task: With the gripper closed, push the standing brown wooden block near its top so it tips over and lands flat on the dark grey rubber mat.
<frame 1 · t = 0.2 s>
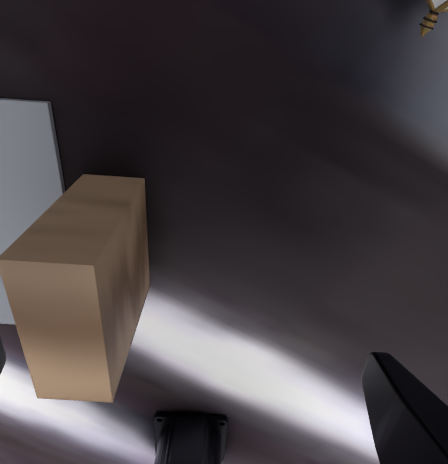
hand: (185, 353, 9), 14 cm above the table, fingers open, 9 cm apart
brown wooden block: (119, 234, 23), on the table
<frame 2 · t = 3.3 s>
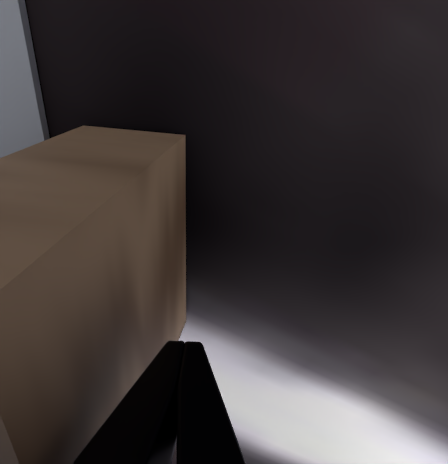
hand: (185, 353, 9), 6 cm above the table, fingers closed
brown wooden block: (140, 234, 14), on the table, tilted 9°
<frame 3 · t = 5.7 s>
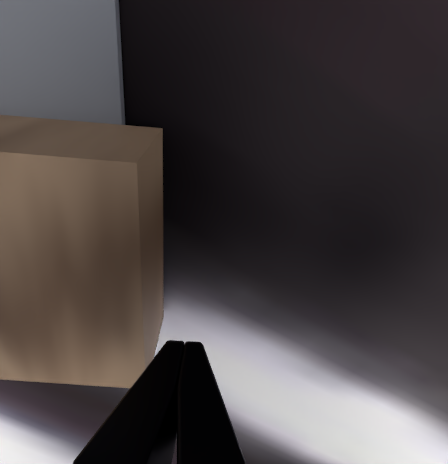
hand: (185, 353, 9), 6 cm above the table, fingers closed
brown wooden block: (154, 262, 12), point 2 cm above the table, tilted 90°, touching rubber mat
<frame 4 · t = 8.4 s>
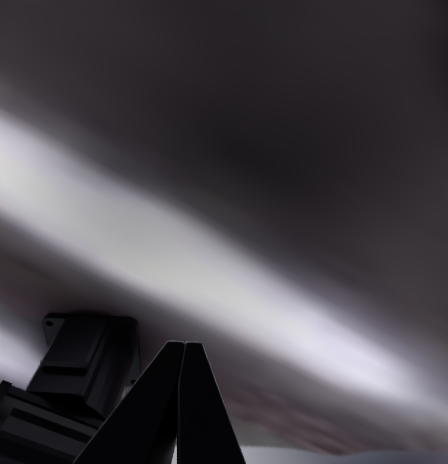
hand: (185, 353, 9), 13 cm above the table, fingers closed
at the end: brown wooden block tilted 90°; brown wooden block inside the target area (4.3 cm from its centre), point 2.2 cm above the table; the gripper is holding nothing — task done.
